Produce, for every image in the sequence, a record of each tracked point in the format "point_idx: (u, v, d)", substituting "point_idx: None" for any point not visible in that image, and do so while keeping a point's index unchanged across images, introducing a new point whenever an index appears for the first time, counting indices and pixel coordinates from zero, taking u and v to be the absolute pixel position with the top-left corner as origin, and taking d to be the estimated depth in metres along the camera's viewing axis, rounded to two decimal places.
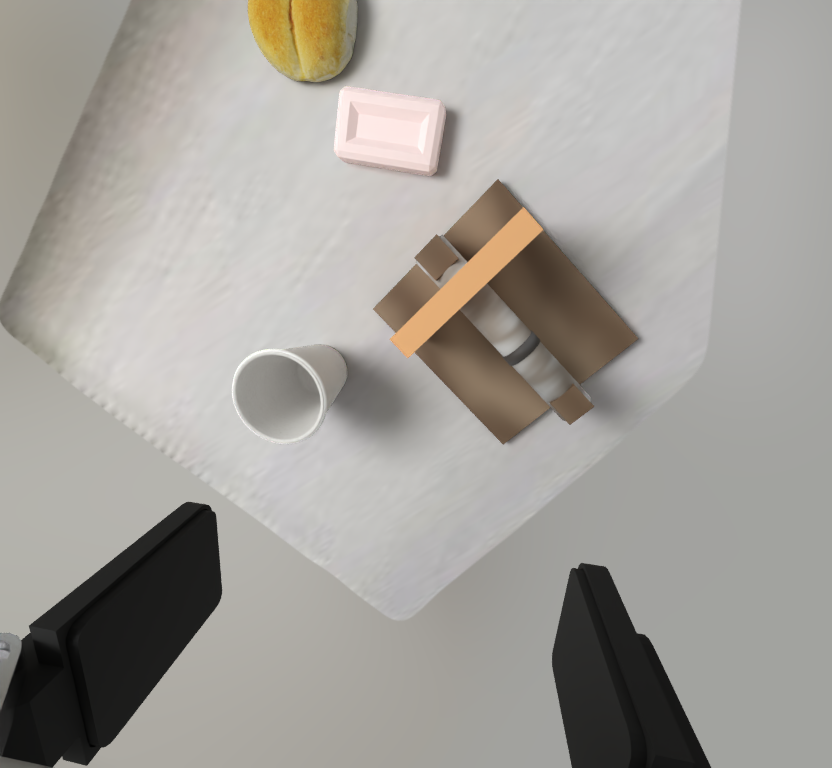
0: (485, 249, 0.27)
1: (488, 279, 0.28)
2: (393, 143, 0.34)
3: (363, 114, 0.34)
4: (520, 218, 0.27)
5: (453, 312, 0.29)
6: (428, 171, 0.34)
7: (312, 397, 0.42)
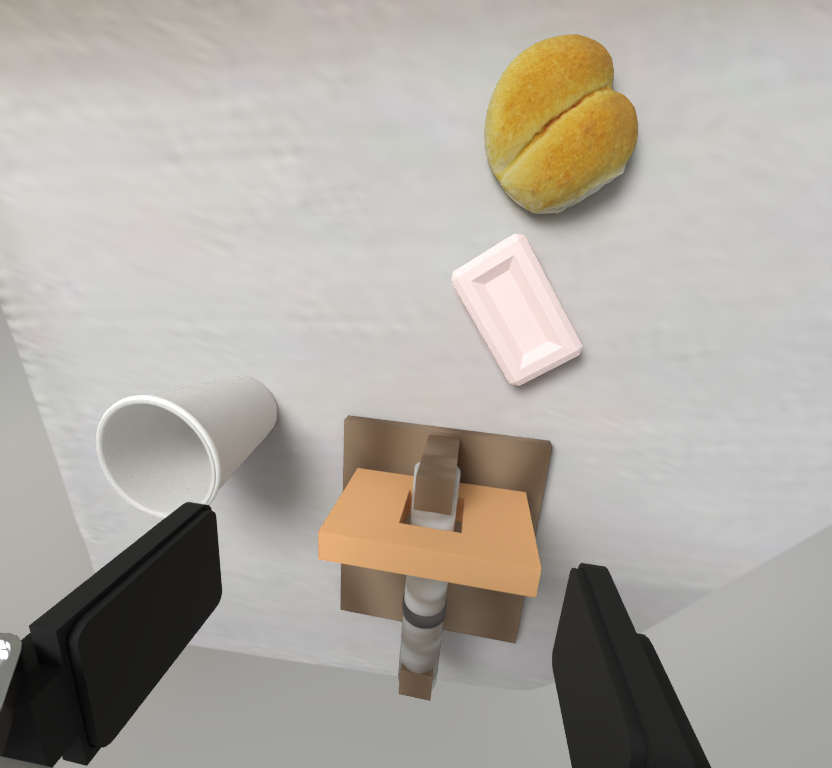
0: (476, 561, 0.22)
1: (452, 581, 0.23)
2: (508, 329, 0.27)
3: (511, 276, 0.26)
4: (528, 572, 0.22)
5: (396, 571, 0.24)
6: (509, 382, 0.28)
7: None
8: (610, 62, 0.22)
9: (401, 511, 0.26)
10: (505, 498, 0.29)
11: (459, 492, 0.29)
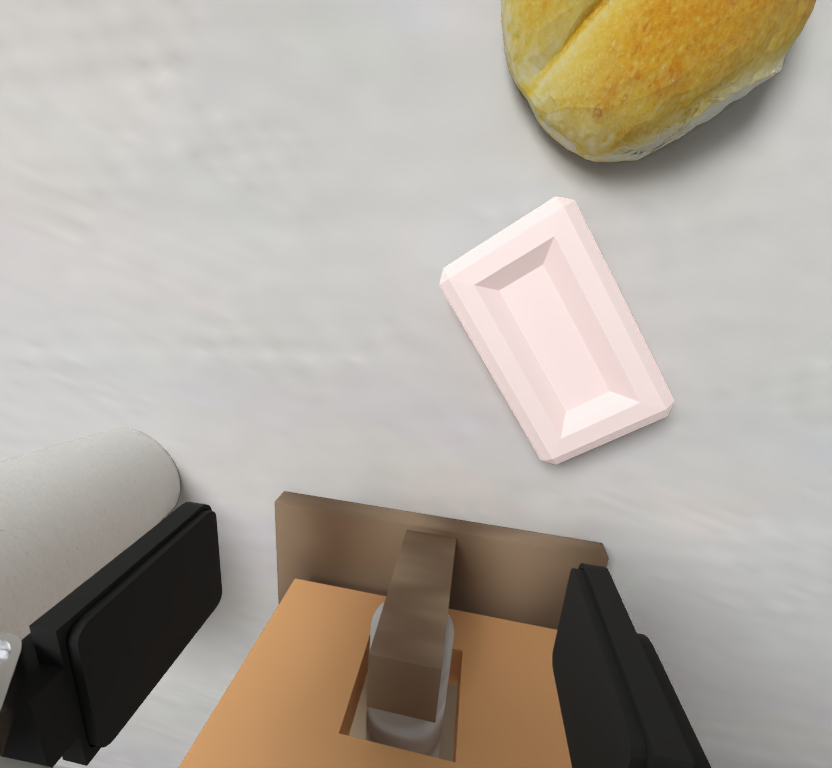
0: None
1: None
2: (539, 369, 0.15)
3: (548, 275, 0.14)
4: None
5: None
6: (540, 457, 0.16)
7: None
8: None
9: (349, 695, 0.15)
10: (531, 650, 0.17)
11: (454, 635, 0.17)
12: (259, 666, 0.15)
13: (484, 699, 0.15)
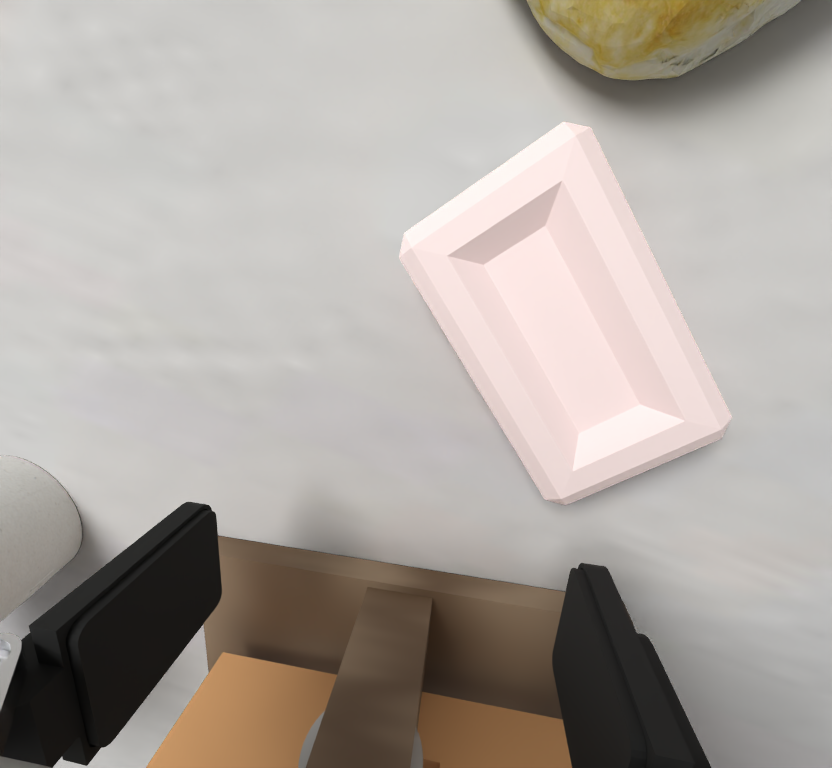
0: None
1: None
2: (542, 375, 0.11)
3: (553, 241, 0.10)
4: None
5: None
6: (544, 496, 0.12)
7: None
8: None
9: None
10: (534, 757, 0.12)
11: (429, 737, 0.13)
12: None
13: None
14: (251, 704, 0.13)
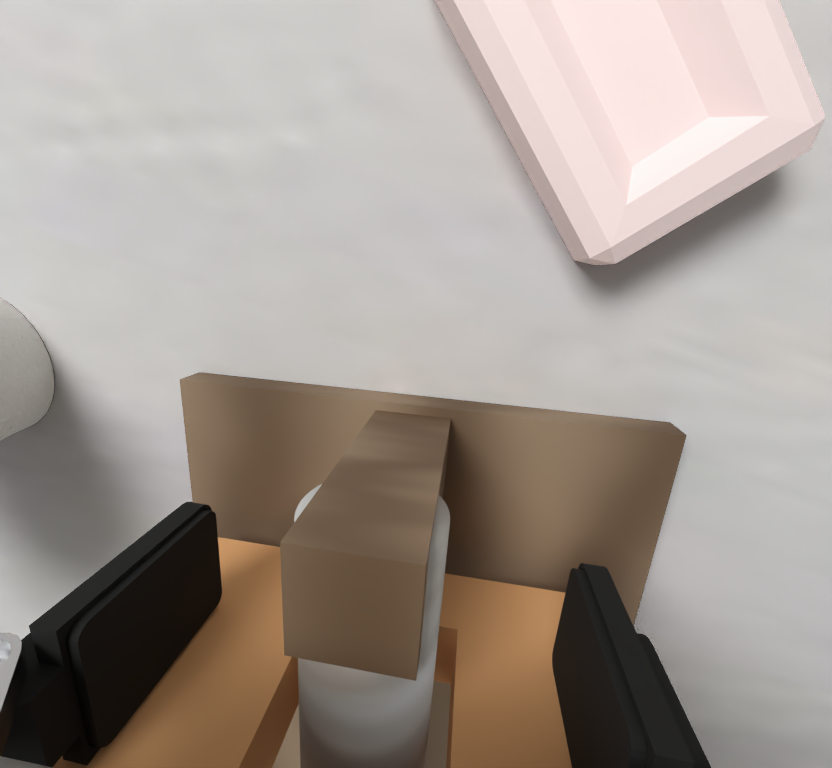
0: None
1: None
2: (589, 85, 0.09)
3: None
4: None
5: None
6: (589, 255, 0.10)
7: None
8: None
9: (266, 704, 0.09)
10: None
11: (444, 608, 0.11)
12: None
13: (495, 705, 0.09)
14: (245, 578, 0.12)
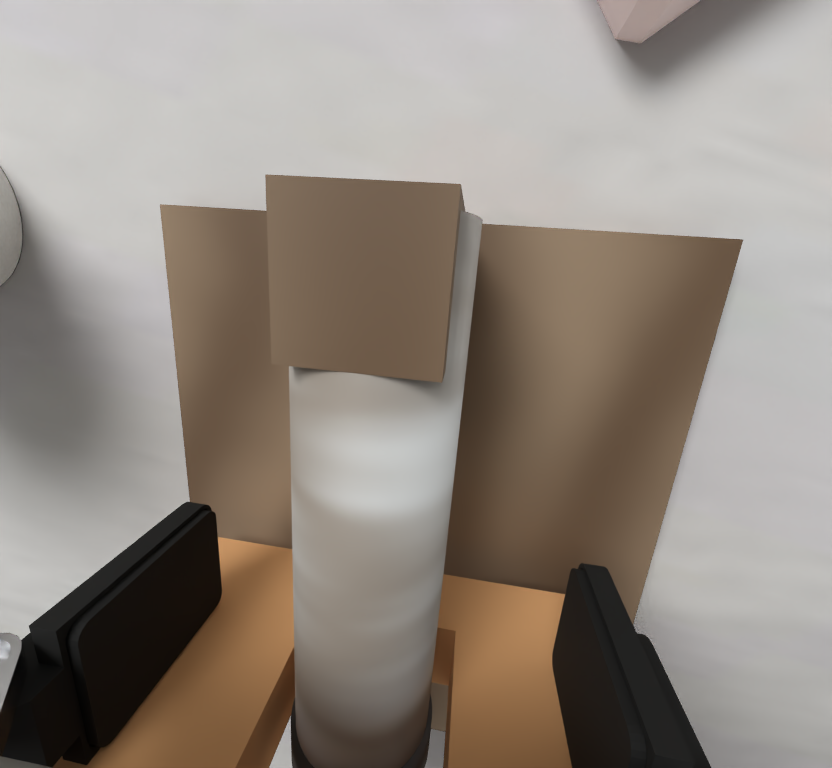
0: None
1: None
2: None
3: None
4: None
5: None
6: None
7: None
8: None
9: (262, 705, 0.09)
10: None
11: (442, 610, 0.11)
12: None
13: (493, 707, 0.09)
14: (242, 578, 0.12)
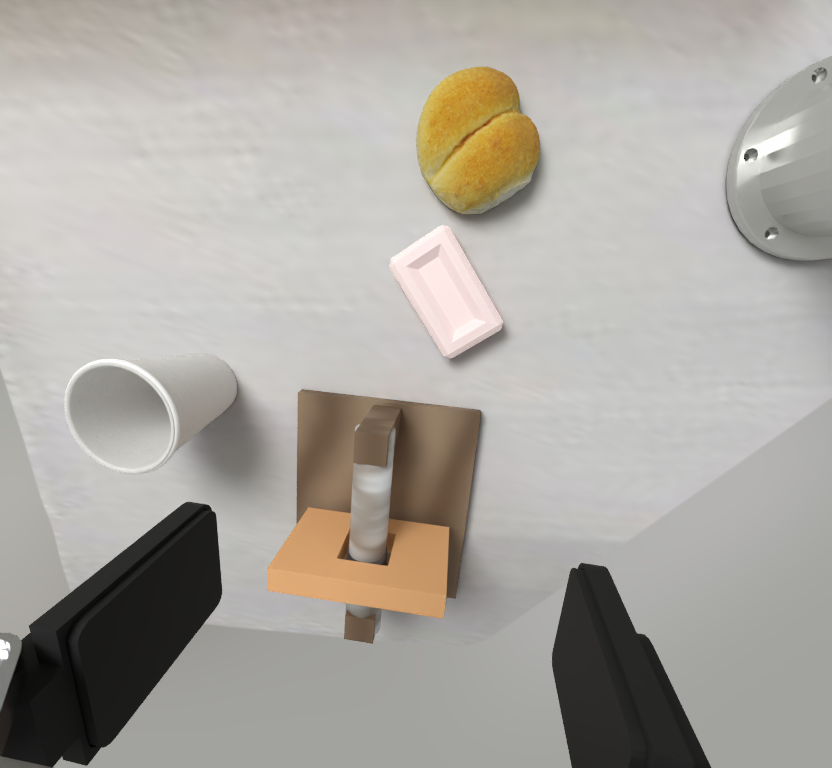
0: (395, 590, 0.28)
1: (377, 607, 0.28)
2: (440, 308, 0.31)
3: (440, 262, 0.30)
4: (437, 599, 0.28)
5: (332, 599, 0.29)
6: (443, 355, 0.32)
7: None
8: (514, 90, 0.27)
9: (340, 547, 0.32)
10: (430, 533, 0.34)
11: (392, 528, 0.34)
12: (296, 538, 0.32)
13: (404, 548, 0.32)
14: (324, 520, 0.35)
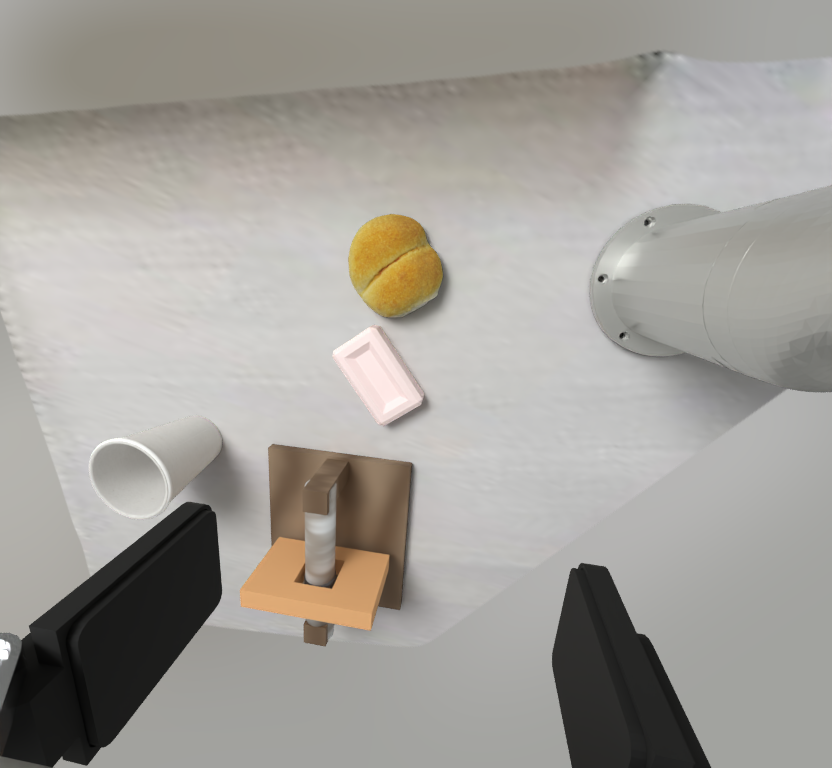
0: (334, 609, 0.37)
1: (322, 620, 0.38)
2: (373, 388, 0.40)
3: (371, 353, 0.39)
4: (364, 616, 0.37)
5: (288, 614, 0.38)
6: (378, 423, 0.41)
7: None
8: (418, 233, 0.35)
9: (298, 573, 0.41)
10: (372, 560, 0.43)
11: (343, 556, 0.43)
12: (265, 565, 0.41)
13: (348, 574, 0.41)
14: (290, 548, 0.44)
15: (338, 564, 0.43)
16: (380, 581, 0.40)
